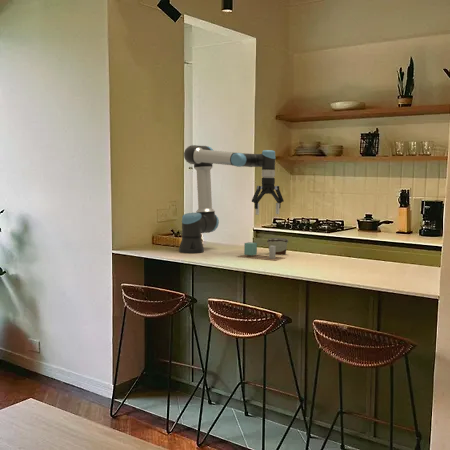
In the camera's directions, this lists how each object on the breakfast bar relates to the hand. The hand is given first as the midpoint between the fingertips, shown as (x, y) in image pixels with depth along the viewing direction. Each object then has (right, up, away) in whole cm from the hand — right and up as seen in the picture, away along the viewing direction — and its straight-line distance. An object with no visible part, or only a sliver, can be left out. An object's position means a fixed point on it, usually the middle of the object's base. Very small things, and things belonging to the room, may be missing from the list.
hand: (267, 214), depth 323 cm
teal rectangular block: (-10, -23, -2) cm, 25 cm away
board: (-4, -25, -6) cm, 26 cm away
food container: (+7, -24, +9) cm, 26 cm away
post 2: (+2, -25, -10) cm, 27 cm away
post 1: (-10, -24, -2) cm, 26 cm away
